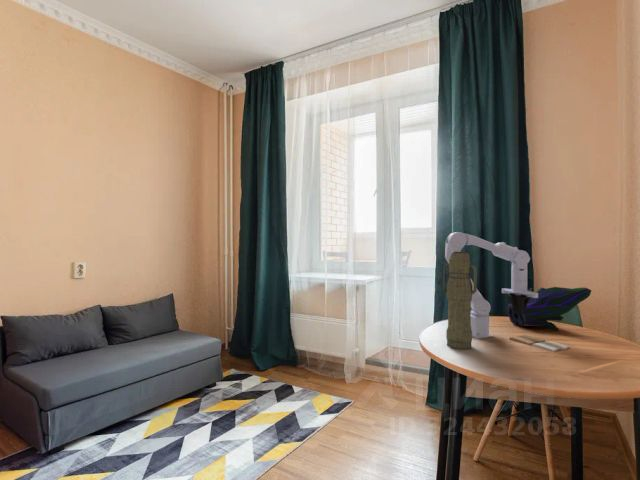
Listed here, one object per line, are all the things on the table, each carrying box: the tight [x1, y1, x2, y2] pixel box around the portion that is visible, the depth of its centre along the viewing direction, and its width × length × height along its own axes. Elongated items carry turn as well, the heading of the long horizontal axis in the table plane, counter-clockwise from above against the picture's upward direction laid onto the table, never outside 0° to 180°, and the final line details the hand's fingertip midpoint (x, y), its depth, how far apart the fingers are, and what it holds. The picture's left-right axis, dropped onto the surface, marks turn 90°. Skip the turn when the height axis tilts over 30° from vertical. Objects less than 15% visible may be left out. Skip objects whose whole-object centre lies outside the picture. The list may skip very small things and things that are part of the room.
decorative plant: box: [505, 286, 592, 332], centre depth 167 cm, size 21×26×30 cm
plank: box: [509, 334, 547, 346], centre depth 144 cm, size 10×8×1 cm
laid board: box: [530, 340, 571, 353], centre depth 136 cm, size 10×8×1 cm
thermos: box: [442, 251, 478, 351], centre depth 138 cm, size 9×12×35 cm
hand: (519, 313), depth 150 cm, fingers closed
